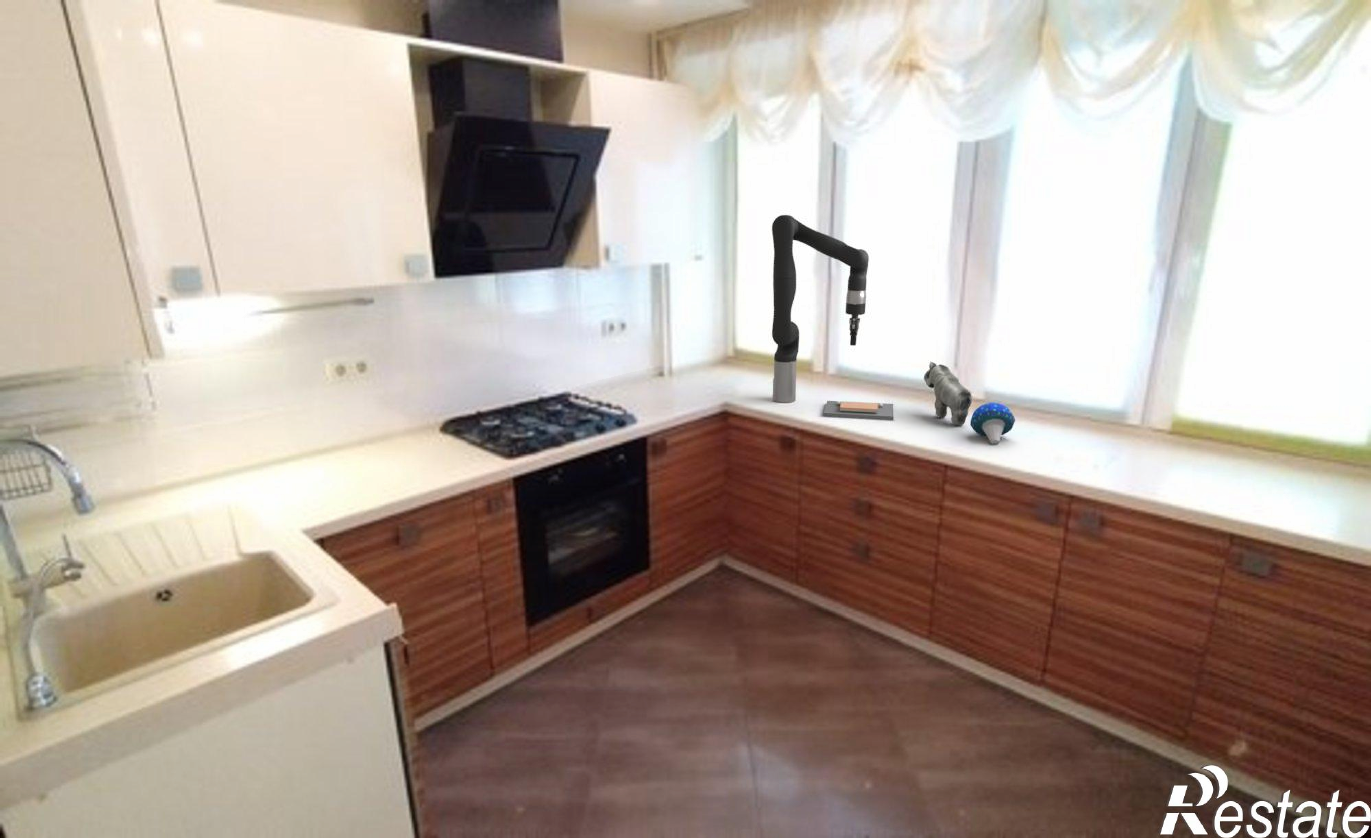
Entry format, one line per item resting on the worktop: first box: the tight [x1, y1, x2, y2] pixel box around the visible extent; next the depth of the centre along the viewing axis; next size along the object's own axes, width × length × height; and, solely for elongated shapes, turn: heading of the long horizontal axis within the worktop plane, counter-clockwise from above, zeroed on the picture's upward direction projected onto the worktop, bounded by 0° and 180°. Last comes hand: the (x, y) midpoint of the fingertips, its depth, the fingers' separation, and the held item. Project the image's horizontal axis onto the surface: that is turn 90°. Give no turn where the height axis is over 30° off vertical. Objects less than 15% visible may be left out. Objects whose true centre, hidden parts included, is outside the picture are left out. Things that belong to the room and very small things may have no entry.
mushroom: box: [969, 402, 1016, 445], centre depth 227 cm, size 14×14×15 cm
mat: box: [823, 400, 895, 421], centre depth 262 cm, size 26×18×3 cm
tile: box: [840, 400, 879, 413], centre depth 260 cm, size 14×10×2 cm
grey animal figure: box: [923, 361, 973, 427], centre depth 249 cm, size 25×9×20 cm, turn 15°
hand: (853, 345), depth 266 cm, fingers closed
